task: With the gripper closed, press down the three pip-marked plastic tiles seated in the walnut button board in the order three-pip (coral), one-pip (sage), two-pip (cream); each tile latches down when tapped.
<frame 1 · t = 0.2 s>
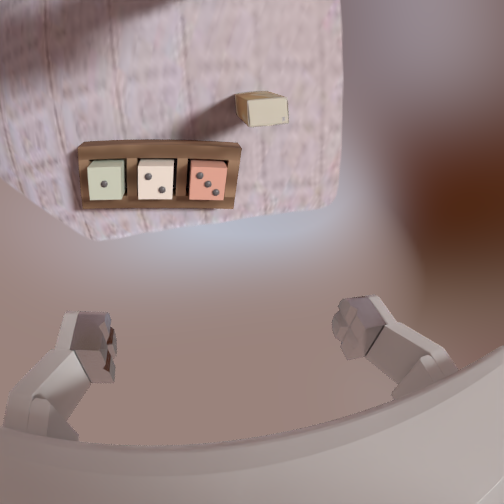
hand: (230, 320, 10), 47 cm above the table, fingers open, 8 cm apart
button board: (157, 170, 52), on the table
tile 2pip: (156, 178, 49), point 4 cm above the table, slide at 0.0 cm
tile 1pip: (107, 178, 46), point 4 cm above the table, slide at 0.0 cm
skincare box: (250, 102, 49), on the table
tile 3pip: (206, 179, 51), point 4 cm above the table, slide at 0.0 cm
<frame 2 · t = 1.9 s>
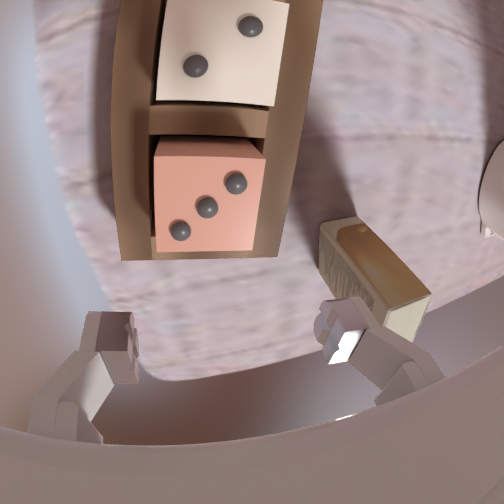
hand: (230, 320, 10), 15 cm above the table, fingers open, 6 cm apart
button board: (210, 54, 17), on the table
tile 2pip: (217, 49, 13), point 4 cm above the table, slide at 0.0 cm
skincare box: (336, 242, 29), on the table
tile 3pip: (204, 191, 18), point 4 cm above the table, slide at 0.0 cm
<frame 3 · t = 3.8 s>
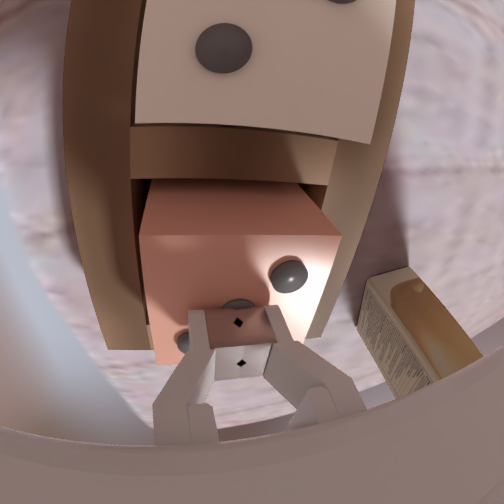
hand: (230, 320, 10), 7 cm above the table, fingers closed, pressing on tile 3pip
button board: (235, 38, 10), on the table
tile 2pip: (258, 24, 7), point 4 cm above the table, slide at 0.0 cm
skincare box: (381, 295, 23), on the table
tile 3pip: (227, 268, 12), point 4 cm above the table, slide at 0.1 cm, touching gripper
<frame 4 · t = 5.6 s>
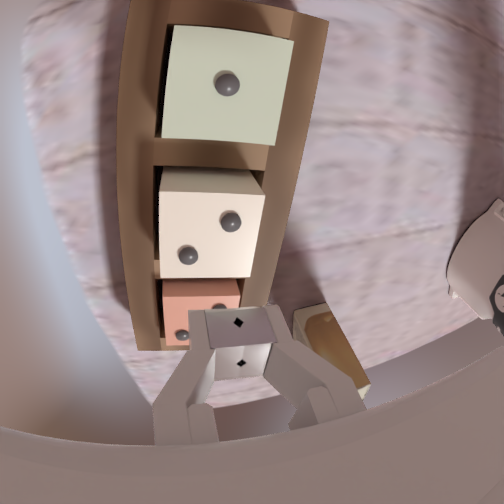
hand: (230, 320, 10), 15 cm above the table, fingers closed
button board: (201, 193, 23), on the table
tile 2pip: (205, 219, 20), point 4 cm above the table, slide at 0.0 cm
tile 1pip: (221, 83, 15), point 4 cm above the table, slide at 0.0 cm
skincare box: (308, 320, 36), on the table
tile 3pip: (197, 302, 26), point 3 cm above the table, slide at 1.4 cm
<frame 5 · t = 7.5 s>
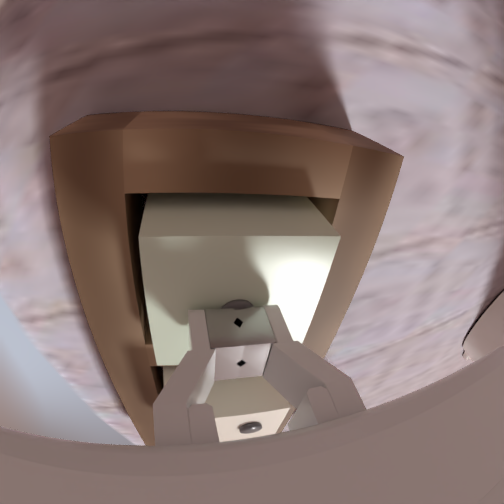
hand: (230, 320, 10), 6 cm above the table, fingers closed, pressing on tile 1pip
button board: (209, 344, 19), on the table
tile 2pip: (219, 401, 16), point 4 cm above the table, slide at 0.0 cm
tile 1pip: (226, 268, 12), point 3 cm above the table, slide at 1.2 cm, touching gripper
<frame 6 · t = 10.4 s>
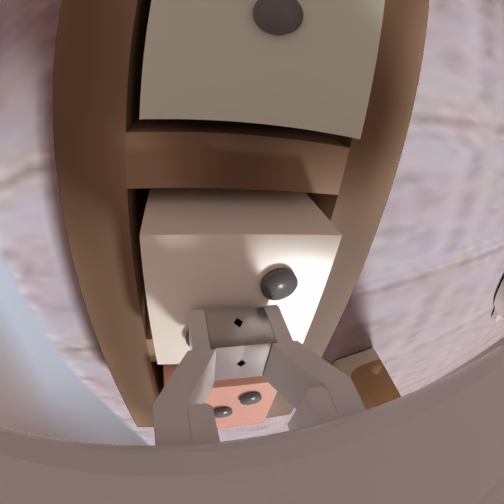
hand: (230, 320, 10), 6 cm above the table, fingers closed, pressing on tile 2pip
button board: (217, 225, 15), on the table
tile 2pip: (227, 267, 12), point 3 cm above the table, slide at 1.0 cm, touching gripper
tile 1pip: (255, 26, 7), point 3 cm above the table, slide at 1.4 cm
skincare box: (348, 367, 27), on the table
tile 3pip: (215, 377, 17), point 3 cm above the table, slide at 1.4 cm
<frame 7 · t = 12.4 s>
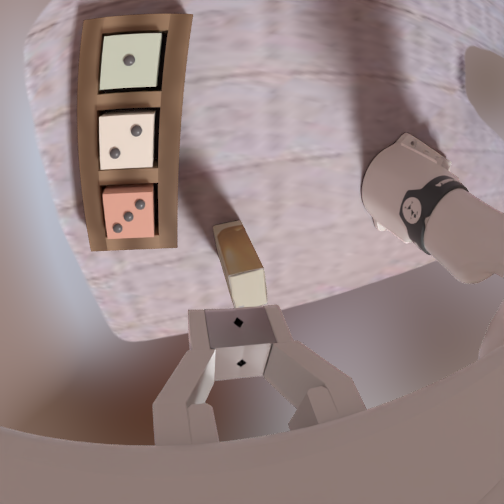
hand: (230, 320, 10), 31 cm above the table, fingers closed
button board: (131, 132, 32), on the table
tile 2pip: (128, 137, 30), point 3 cm above the table, slide at 1.4 cm
tile 1pip: (132, 61, 25), point 3 cm above the table, slide at 1.4 cm
skincare box: (229, 238, 45), on the table
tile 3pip: (130, 207, 34), point 3 cm above the table, slide at 1.4 cm
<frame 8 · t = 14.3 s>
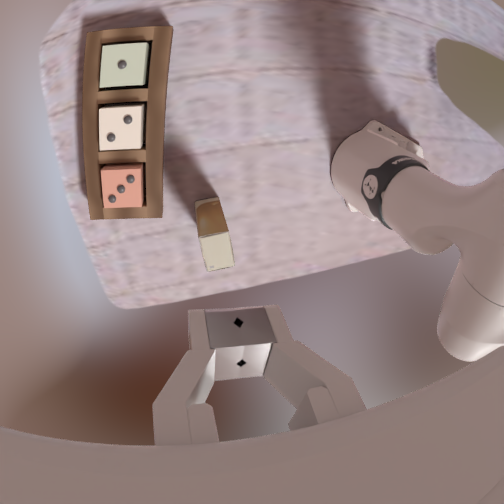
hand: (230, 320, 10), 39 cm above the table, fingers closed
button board: (126, 122, 38), on the table
tile 2pip: (122, 125, 36), point 3 cm above the table, slide at 1.4 cm
tile 1pip: (125, 65, 31), point 3 cm above the table, slide at 1.4 cm
skincare box: (209, 213, 51), on the table
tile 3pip: (124, 183, 41), point 3 cm above the table, slide at 1.4 cm
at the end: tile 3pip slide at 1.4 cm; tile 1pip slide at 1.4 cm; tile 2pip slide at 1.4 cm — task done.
